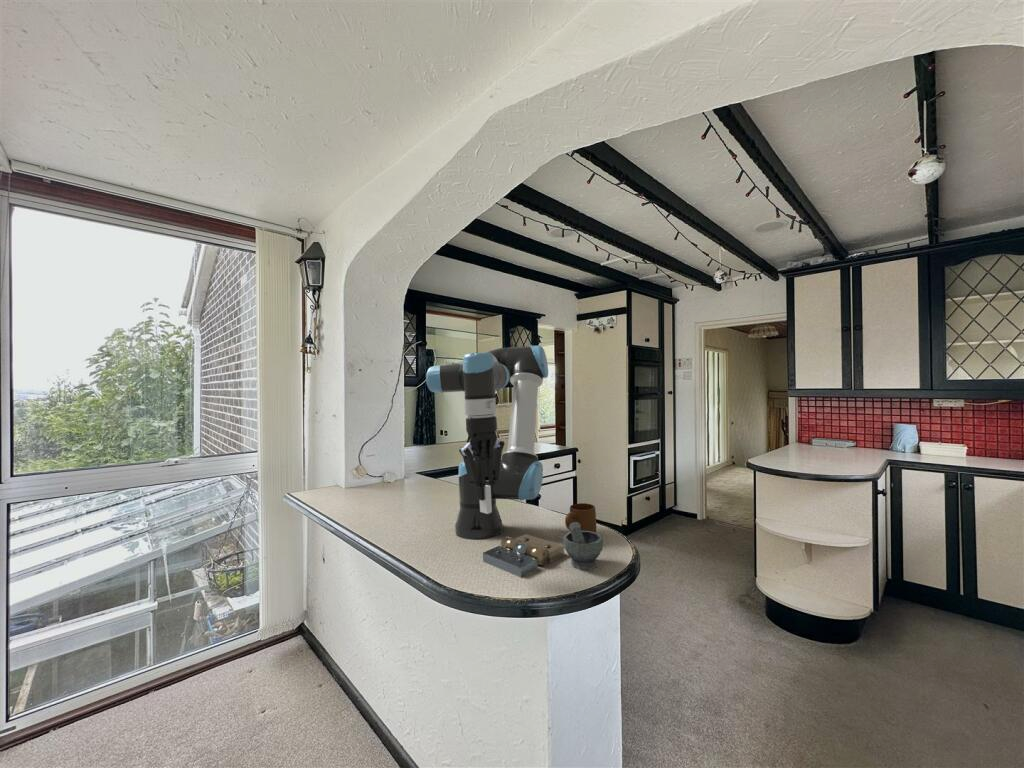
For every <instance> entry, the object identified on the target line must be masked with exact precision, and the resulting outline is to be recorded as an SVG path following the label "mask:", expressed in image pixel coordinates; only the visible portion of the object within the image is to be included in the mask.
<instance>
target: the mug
mask: <svg viewBox="0 0 1024 768" xmlns="http://www.w3.org/2000/svg"><path fill="white" fill-rule="evenodd" d="M573 522H578V523H579V524H580V526H581V531H591V532H595V533H598V532H597V513H596V506H595V505H594V504H590V503H586V502H585V503H583V502H581V503H580V502H579V503H575V504H574V503H573V504H571V505H570V506H569V512H568V513H567V514H566V516H565V518H564V524H565V527H566V528H567V530H569V531H570V528H569V526H570V524H571V523H573Z"/></svg>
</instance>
